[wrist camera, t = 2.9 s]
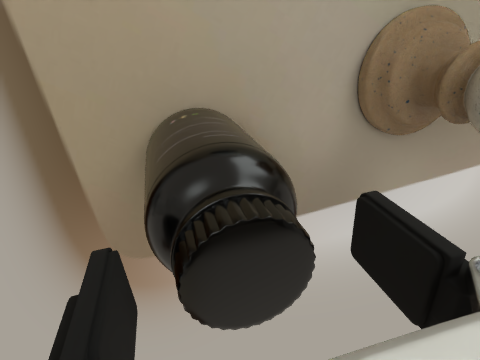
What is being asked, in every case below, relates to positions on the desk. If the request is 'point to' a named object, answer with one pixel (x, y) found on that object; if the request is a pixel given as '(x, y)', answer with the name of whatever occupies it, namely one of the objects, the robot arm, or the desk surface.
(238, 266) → the supplement bottle
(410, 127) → the candle holder
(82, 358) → the robot arm
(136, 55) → the desk surface
